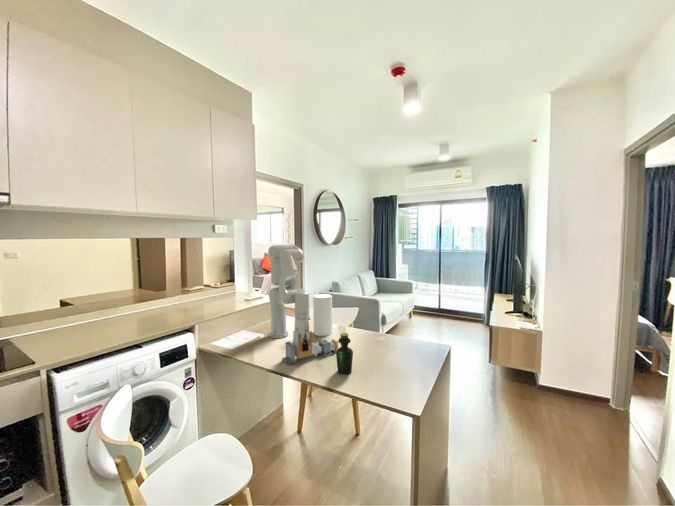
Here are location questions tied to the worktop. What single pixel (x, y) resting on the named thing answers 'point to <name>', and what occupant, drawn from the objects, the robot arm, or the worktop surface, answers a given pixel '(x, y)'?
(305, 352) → the small box
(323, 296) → the cylinder
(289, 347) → the plate
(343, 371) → the potion bottle
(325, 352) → the guide block
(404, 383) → the worktop surface
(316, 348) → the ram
